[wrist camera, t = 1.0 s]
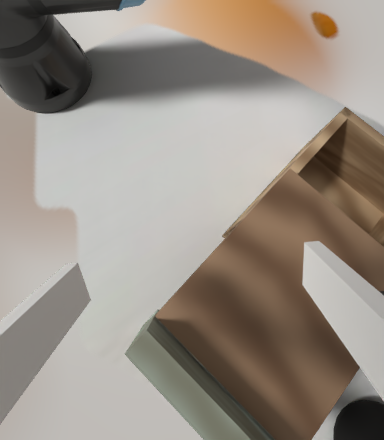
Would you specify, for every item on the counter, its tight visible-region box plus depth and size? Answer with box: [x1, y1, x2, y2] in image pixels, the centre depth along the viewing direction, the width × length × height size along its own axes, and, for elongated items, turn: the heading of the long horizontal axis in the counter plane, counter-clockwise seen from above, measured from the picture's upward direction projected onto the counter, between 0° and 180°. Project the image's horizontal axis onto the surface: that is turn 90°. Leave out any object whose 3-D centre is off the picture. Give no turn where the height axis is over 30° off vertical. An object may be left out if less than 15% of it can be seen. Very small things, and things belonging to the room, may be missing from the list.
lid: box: [125, 169, 384, 440], centre depth 22 cm, size 25×18×8 cm
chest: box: [222, 107, 384, 247], centre depth 30 cm, size 22×18×10 cm
